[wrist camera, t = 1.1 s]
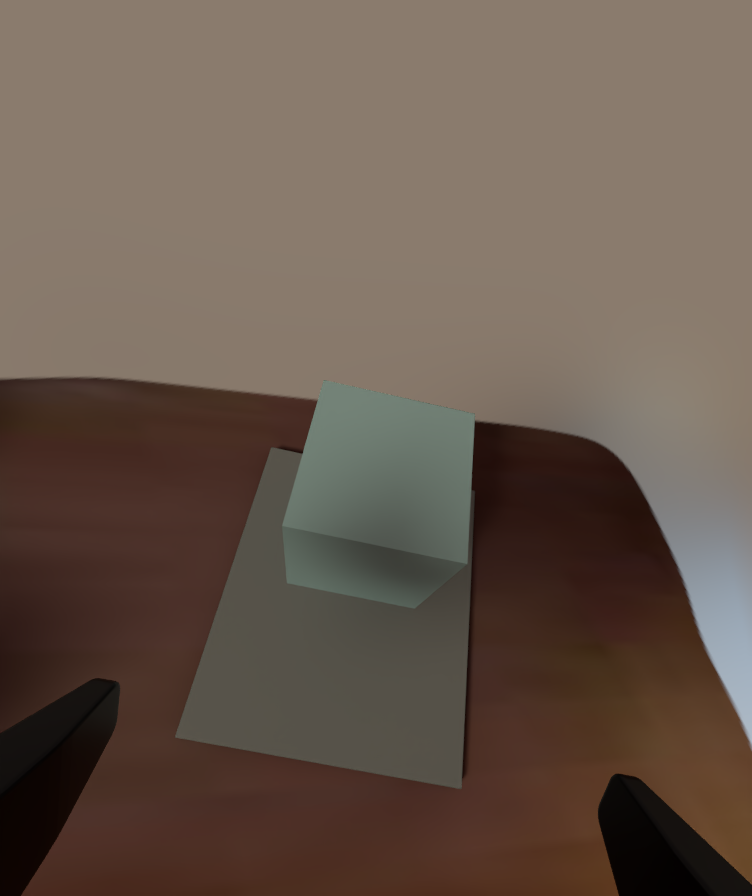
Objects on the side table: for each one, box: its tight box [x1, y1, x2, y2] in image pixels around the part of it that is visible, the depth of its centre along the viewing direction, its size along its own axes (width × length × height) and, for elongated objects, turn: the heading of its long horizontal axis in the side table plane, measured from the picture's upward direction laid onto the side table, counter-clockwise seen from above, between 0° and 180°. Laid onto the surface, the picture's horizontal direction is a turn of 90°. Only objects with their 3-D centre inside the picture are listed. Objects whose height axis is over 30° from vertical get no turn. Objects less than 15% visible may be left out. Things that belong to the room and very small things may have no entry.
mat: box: [175, 447, 475, 789], centre depth 21 cm, size 14×12×3 cm
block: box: [282, 380, 475, 609], centre depth 20 cm, size 6×6×8 cm
